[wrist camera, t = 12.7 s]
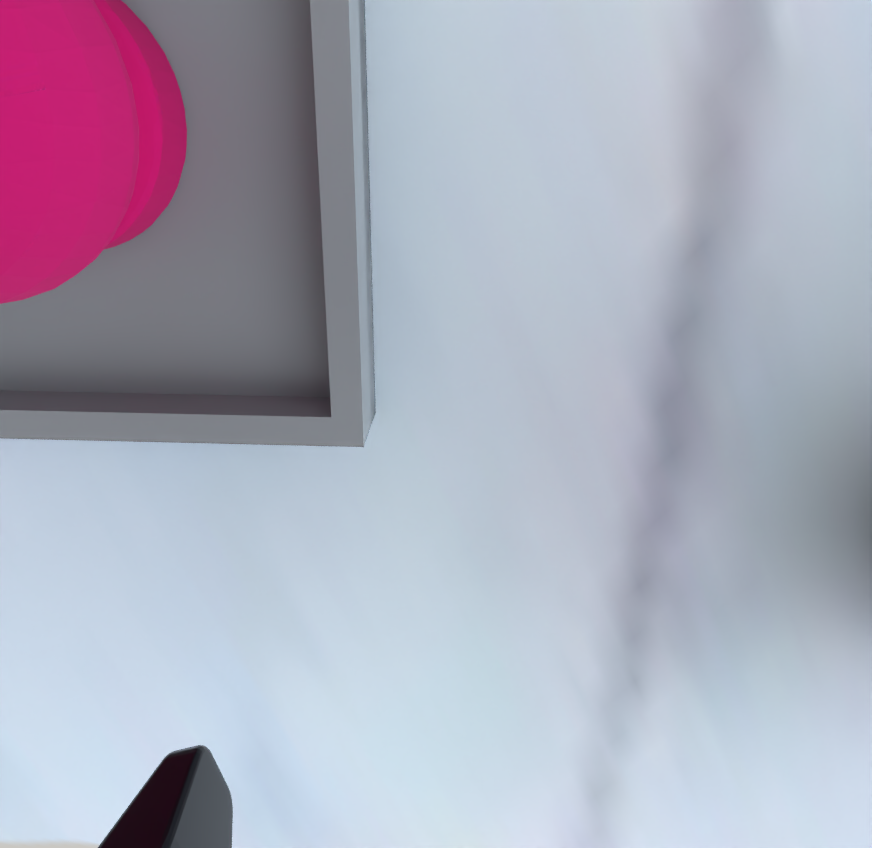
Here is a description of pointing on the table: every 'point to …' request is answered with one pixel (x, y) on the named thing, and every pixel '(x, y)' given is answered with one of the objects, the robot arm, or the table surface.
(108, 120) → the pepper mill
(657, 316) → the table surface
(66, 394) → the tray
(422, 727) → the table surface
